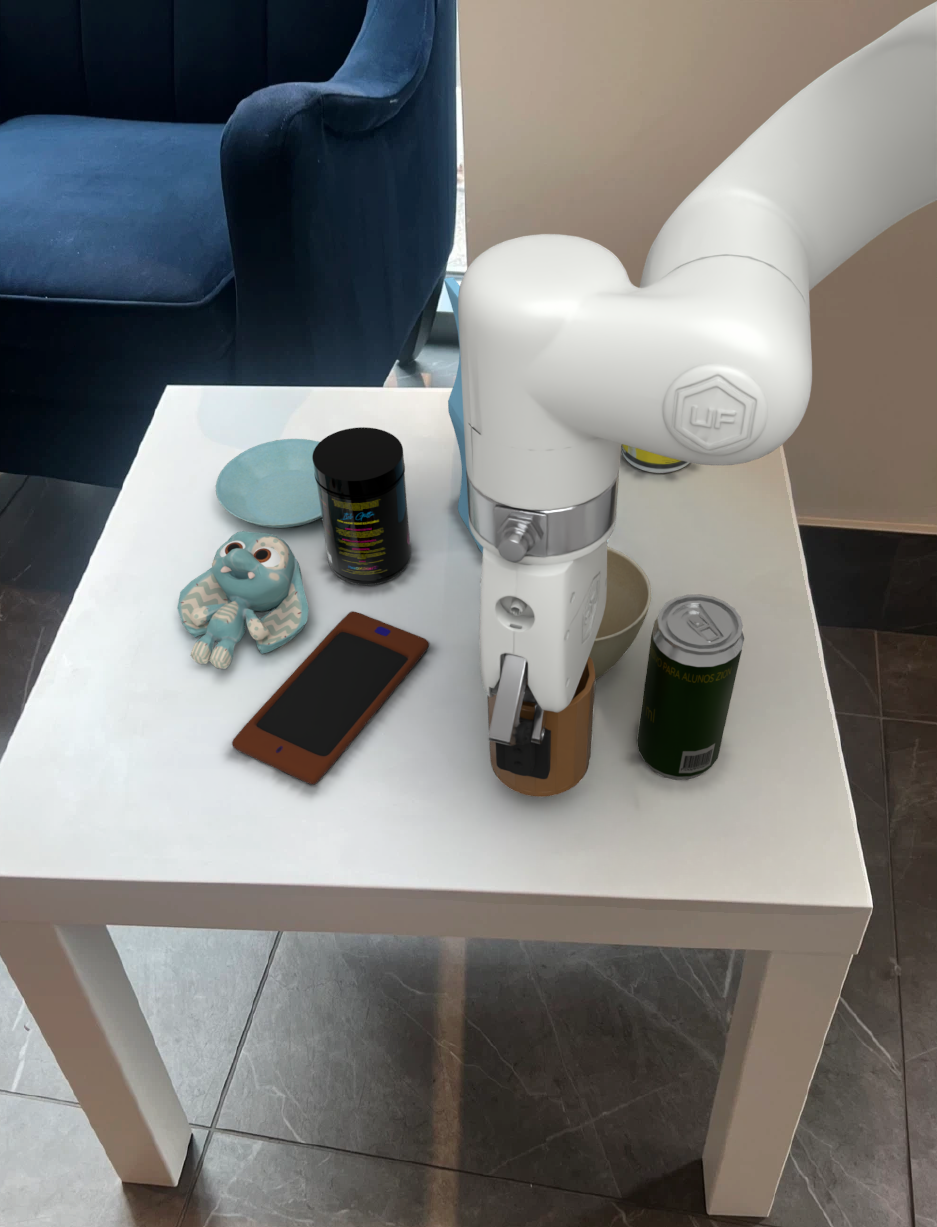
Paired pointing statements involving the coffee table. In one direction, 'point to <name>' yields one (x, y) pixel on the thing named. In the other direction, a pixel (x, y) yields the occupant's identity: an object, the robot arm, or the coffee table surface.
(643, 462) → the pill bottle
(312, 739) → the smartphone
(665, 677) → the beer can
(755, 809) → the coffee table surface
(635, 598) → the flower pot
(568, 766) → the wooden cup
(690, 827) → the coffee table surface
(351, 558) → the supplement container
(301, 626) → the stuffed animal
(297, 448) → the saucer
